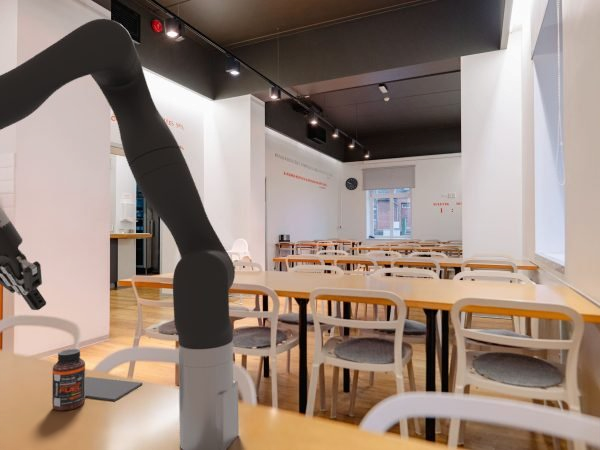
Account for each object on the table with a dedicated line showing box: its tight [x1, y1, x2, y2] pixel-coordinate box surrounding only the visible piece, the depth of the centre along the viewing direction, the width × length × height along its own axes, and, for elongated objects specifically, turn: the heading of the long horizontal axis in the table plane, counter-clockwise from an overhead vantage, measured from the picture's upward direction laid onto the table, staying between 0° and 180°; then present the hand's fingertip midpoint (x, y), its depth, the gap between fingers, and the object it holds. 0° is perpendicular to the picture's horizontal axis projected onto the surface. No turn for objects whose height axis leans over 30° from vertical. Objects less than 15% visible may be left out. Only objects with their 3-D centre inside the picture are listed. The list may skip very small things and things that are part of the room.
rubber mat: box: [85, 376, 143, 402], centre depth 90 cm, size 16×9×1 cm, turn 75°
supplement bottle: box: [51, 348, 86, 412], centre depth 82 cm, size 6×6×11 cm
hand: (39, 307), depth 75 cm, fingers closed
